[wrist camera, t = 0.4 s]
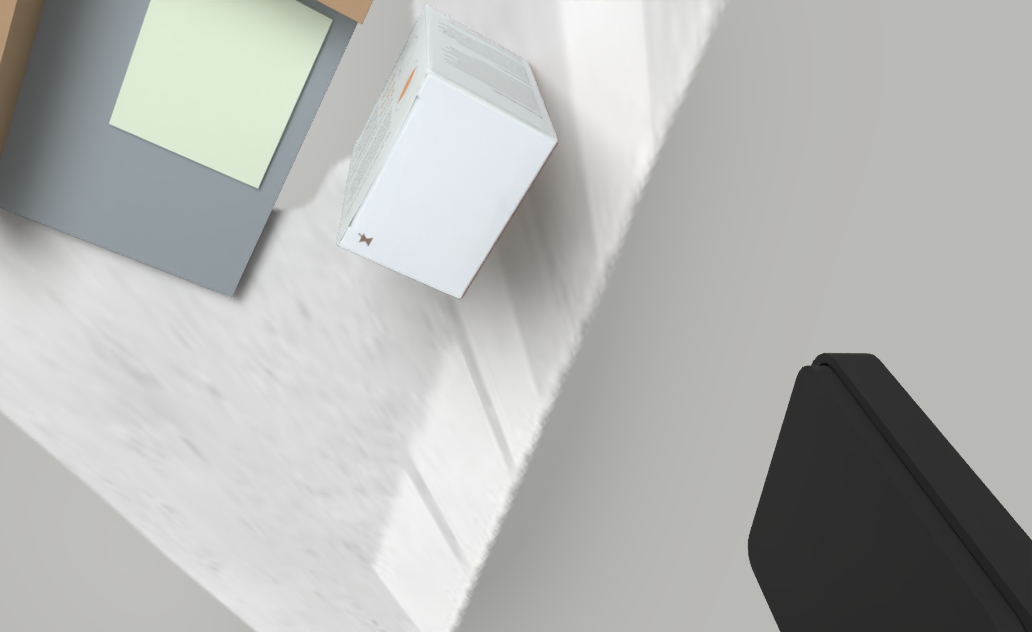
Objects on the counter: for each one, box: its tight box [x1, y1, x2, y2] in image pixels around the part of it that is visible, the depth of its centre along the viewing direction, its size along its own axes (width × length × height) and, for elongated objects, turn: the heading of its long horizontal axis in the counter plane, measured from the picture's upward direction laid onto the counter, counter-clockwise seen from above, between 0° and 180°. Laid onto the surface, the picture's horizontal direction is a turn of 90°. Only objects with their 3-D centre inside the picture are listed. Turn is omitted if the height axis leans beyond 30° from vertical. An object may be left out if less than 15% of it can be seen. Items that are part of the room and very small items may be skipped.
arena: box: [0, 0, 373, 297], centre depth 37 cm, size 18×13×4 cm
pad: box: [109, 0, 333, 188], centre depth 38 cm, size 9×7×1 cm
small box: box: [336, 4, 558, 299], centre depth 37 cm, size 8×6×10 cm
